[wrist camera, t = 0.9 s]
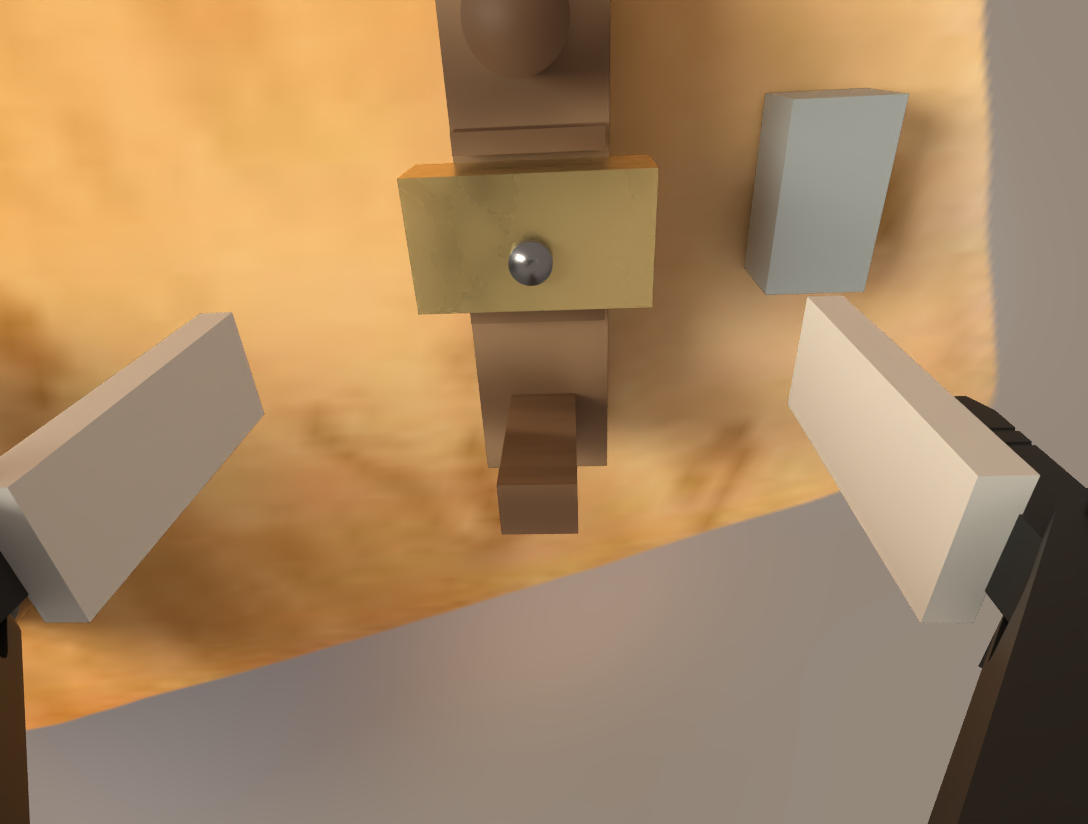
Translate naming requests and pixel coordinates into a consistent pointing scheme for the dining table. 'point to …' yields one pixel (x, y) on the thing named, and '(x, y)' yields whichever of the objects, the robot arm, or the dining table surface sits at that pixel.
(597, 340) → the plane body
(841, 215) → the block
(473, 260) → the lever cap
